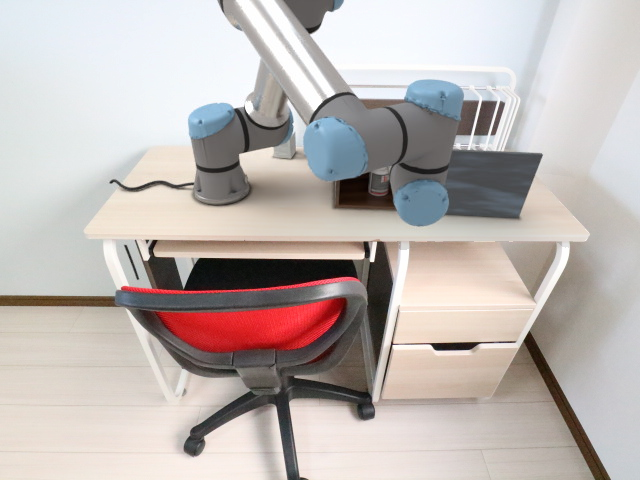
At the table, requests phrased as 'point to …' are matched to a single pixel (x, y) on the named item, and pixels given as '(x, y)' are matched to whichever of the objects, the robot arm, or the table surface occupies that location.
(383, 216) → the table surface
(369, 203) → the cabinet
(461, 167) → the cabinet door
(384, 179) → the pill bottle
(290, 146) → the product box
